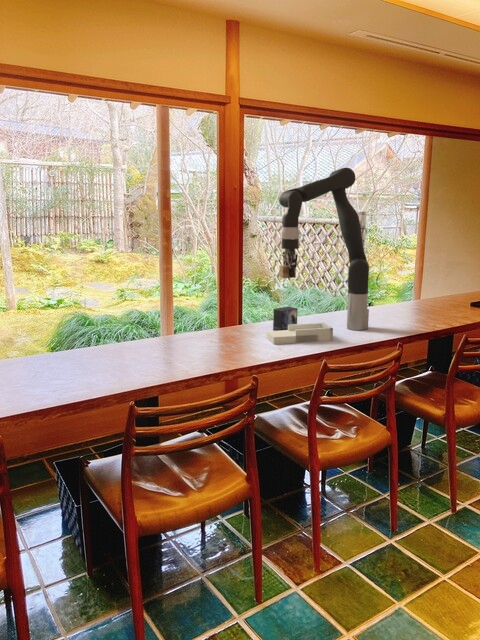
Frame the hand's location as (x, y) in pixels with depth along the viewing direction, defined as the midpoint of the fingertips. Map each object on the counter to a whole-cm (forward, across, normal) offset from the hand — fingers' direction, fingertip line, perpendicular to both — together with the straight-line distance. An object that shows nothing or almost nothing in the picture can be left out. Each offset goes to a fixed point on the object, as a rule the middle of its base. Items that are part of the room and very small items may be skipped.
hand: (289, 276), depth 239 cm
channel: (+27, +7, +2) cm, 28 cm away
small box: (+28, -12, +2) cm, 30 cm away
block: (0, 0, -1) cm, 1 cm away
